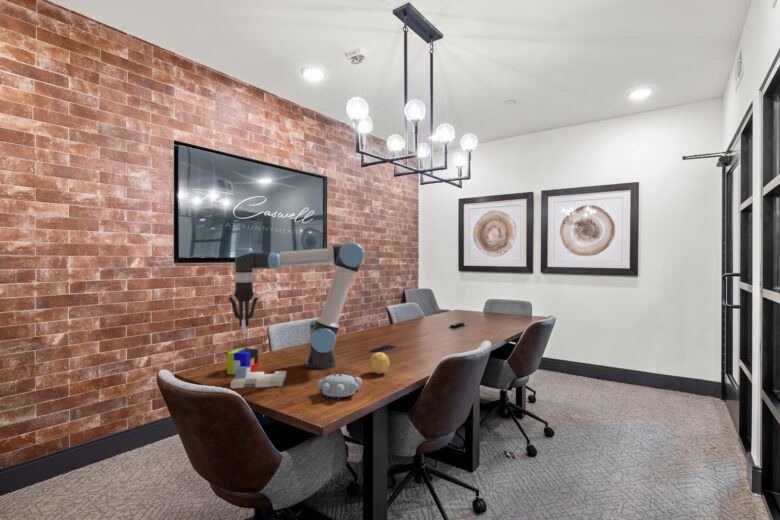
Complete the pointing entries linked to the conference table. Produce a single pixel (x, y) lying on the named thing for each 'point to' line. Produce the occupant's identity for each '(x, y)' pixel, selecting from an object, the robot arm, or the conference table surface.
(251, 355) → the puzzle toy
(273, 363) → the conference table surface
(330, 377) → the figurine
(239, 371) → the block
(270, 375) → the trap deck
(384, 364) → the stress ball
